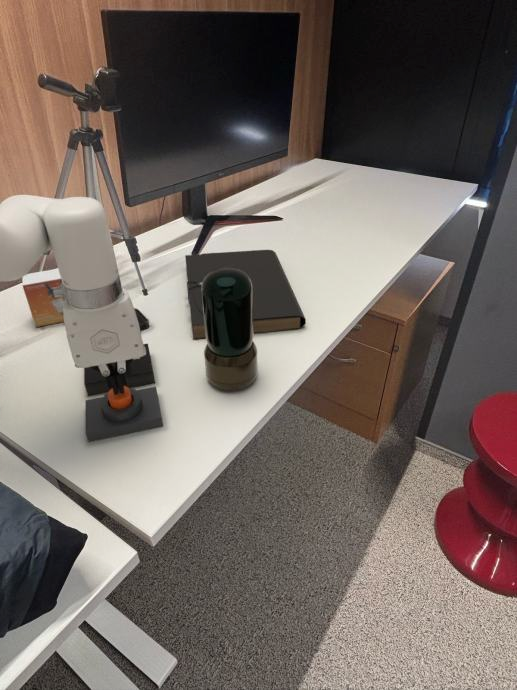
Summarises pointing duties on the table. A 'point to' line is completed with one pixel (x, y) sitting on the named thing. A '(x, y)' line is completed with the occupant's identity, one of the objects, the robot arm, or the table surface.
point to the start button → (120, 399)
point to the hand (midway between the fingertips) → (118, 388)
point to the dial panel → (136, 375)
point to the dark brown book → (268, 289)
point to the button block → (122, 415)
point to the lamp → (229, 329)
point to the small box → (44, 297)
